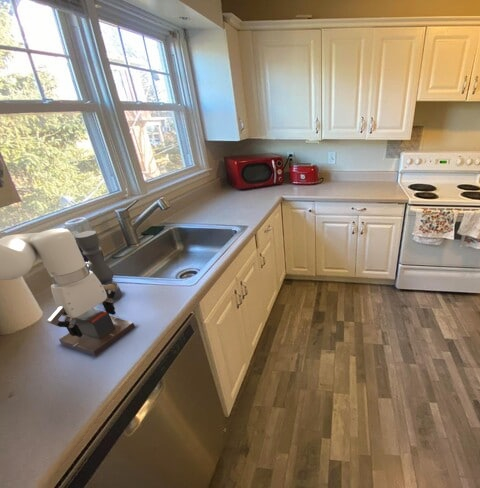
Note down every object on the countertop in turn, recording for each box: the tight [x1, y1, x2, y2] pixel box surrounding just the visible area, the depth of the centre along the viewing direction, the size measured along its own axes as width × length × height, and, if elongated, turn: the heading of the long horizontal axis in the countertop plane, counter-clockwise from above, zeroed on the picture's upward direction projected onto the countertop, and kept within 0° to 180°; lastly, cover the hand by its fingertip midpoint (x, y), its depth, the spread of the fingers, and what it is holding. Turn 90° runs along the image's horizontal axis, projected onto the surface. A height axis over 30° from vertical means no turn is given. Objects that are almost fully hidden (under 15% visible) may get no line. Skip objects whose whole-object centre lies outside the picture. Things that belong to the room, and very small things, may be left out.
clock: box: [75, 308, 115, 339], centre depth 81 cm, size 9×4×6 cm, turn 71°
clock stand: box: [58, 315, 136, 357], centre depth 83 cm, size 14×13×2 cm
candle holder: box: [73, 230, 123, 302], centre depth 95 cm, size 6×6×25 cm
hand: (95, 323), depth 82 cm, fingers open, 9 cm apart
